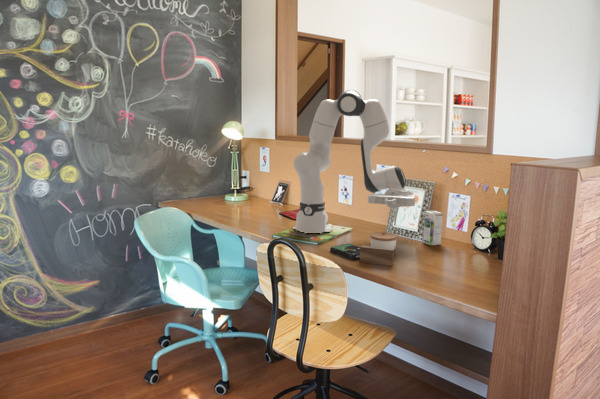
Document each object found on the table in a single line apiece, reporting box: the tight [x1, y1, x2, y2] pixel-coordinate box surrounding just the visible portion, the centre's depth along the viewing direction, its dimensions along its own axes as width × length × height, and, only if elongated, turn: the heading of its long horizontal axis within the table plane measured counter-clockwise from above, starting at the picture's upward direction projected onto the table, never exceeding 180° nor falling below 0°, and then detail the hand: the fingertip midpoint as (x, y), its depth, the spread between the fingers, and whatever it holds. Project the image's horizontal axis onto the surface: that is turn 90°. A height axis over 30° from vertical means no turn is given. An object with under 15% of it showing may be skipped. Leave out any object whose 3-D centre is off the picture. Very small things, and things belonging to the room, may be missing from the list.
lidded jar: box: [369, 230, 398, 250], centre depth 190 cm, size 11×11×9 cm
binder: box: [278, 208, 300, 221], centre depth 263 cm, size 16×2×21 cm
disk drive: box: [329, 243, 361, 261], centre depth 189 cm, size 10×3×15 cm
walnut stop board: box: [359, 245, 395, 267], centre depth 177 cm, size 2×12×6 cm, turn 71°
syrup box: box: [422, 210, 444, 246], centre depth 206 cm, size 6×6×14 cm
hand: (389, 202), depth 198 cm, fingers closed
